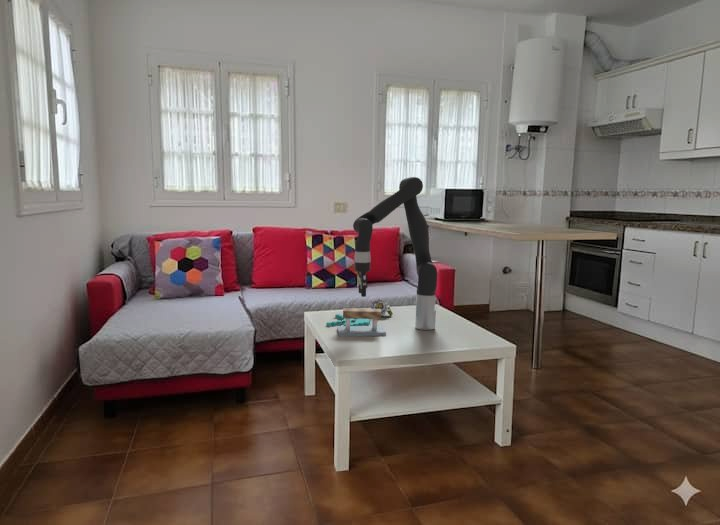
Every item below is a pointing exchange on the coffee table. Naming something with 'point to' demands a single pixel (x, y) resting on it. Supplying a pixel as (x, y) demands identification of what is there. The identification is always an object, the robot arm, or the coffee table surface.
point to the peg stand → (361, 329)
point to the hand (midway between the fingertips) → (362, 294)
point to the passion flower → (382, 307)
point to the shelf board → (361, 313)
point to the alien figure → (352, 321)
